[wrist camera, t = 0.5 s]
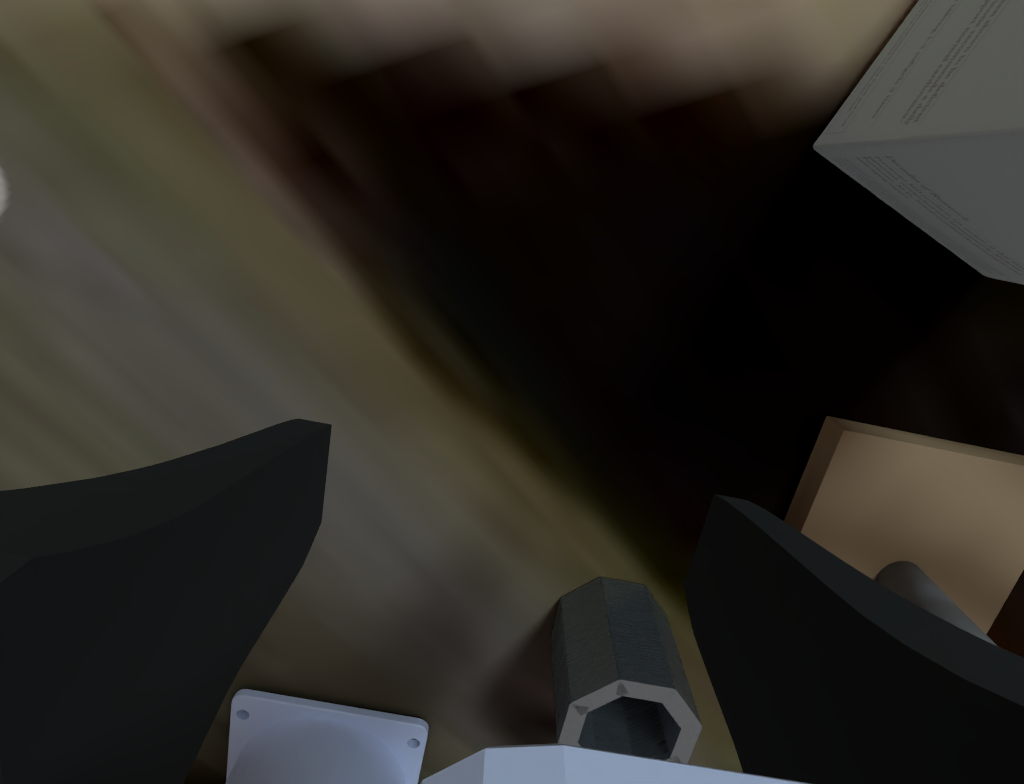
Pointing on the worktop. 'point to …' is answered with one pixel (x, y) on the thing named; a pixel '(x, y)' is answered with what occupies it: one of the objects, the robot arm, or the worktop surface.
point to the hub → (620, 674)
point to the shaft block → (918, 517)
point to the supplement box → (945, 129)
